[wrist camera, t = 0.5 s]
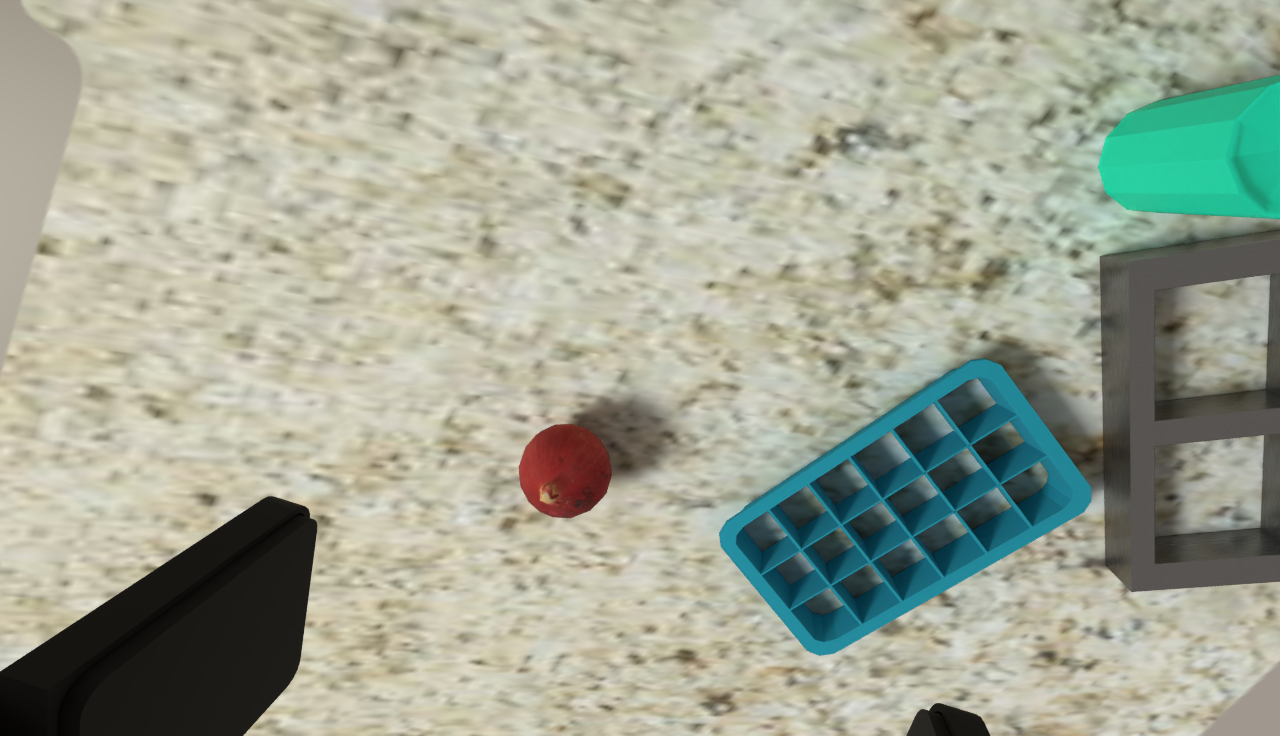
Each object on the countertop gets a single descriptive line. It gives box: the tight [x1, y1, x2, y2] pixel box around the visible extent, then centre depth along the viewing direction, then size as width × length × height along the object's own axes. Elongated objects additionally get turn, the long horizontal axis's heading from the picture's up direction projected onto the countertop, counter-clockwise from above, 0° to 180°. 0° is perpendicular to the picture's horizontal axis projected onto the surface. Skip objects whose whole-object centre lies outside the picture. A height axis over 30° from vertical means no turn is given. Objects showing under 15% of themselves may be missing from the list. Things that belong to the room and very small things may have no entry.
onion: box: [519, 424, 612, 518], centre depth 43 cm, size 6×6×8 cm
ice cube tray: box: [719, 358, 1091, 656], centre depth 44 cm, size 12×20×3 cm, turn 129°
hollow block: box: [1100, 230, 1280, 592], centre depth 39 cm, size 20×10×3 cm, turn 10°
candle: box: [1098, 75, 1280, 219], centre depth 32 cm, size 6×6×12 cm
